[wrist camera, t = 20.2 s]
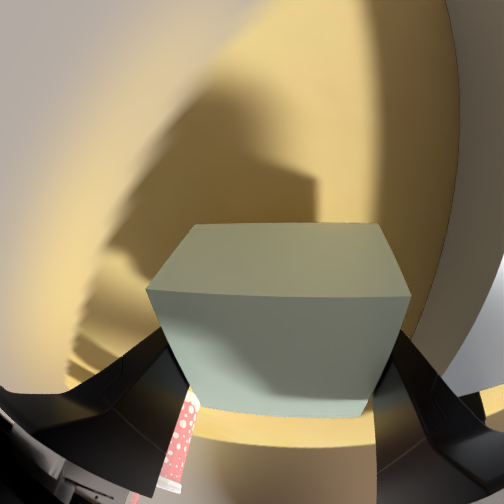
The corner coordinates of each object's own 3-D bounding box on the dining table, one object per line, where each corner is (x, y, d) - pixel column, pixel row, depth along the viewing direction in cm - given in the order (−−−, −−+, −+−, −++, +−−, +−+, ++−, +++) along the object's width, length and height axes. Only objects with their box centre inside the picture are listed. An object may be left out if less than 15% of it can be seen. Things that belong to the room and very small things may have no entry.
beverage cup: (161, 404, 23) (116, 516, 11) (132, 370, 20) (70, 501, 8) (217, 414, 22) (177, 543, 10) (194, 381, 19) (136, 541, 7)
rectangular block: (354, 347, 11) (359, 417, 8) (223, 342, 12) (201, 406, 9) (378, 223, 8) (411, 296, 5) (195, 224, 9) (145, 289, 6)
